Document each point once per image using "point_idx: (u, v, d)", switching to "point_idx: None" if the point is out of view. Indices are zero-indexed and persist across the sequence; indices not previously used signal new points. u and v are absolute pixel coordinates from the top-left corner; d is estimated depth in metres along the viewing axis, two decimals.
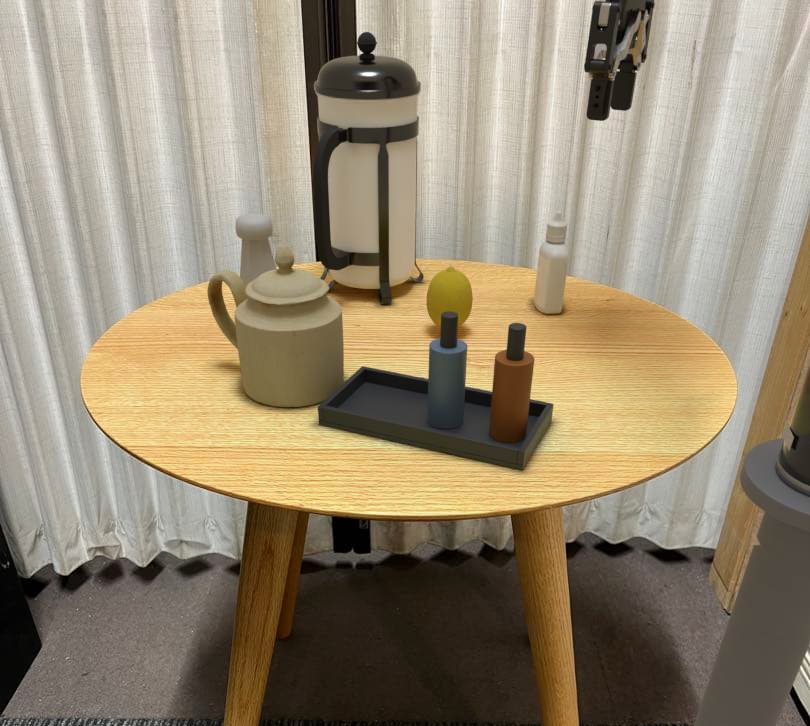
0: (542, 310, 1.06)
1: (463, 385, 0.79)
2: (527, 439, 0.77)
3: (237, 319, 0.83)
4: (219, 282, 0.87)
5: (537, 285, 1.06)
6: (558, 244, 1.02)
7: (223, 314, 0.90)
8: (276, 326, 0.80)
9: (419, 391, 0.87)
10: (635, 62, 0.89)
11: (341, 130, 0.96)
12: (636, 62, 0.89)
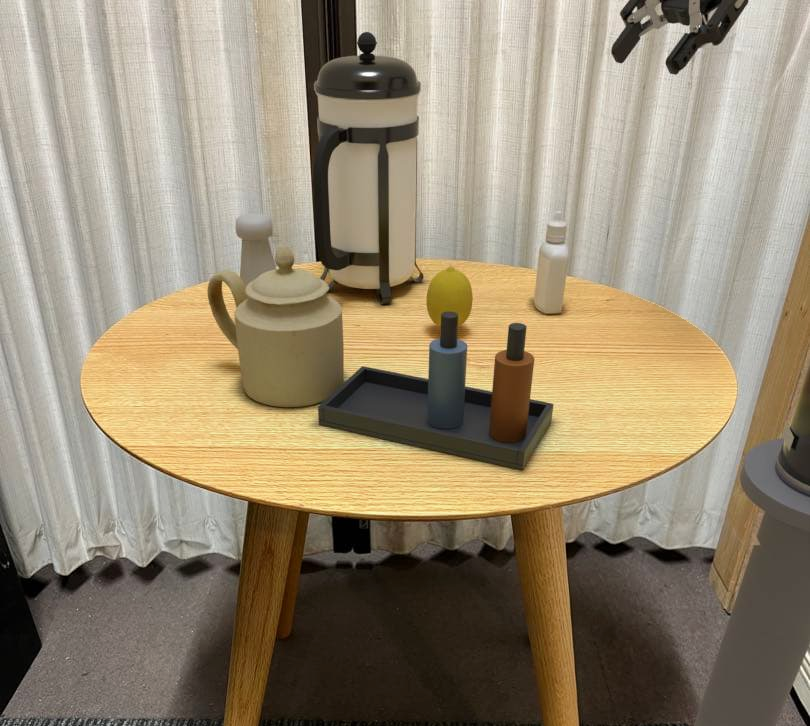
0: (542, 310, 1.06)
1: (463, 385, 0.79)
2: (527, 439, 0.77)
3: (237, 319, 0.83)
4: (219, 282, 0.87)
5: (537, 285, 1.06)
6: (558, 244, 1.02)
7: (223, 314, 0.90)
8: (276, 326, 0.80)
9: (419, 391, 0.87)
10: None
11: (341, 130, 0.96)
12: (689, 24, 0.92)
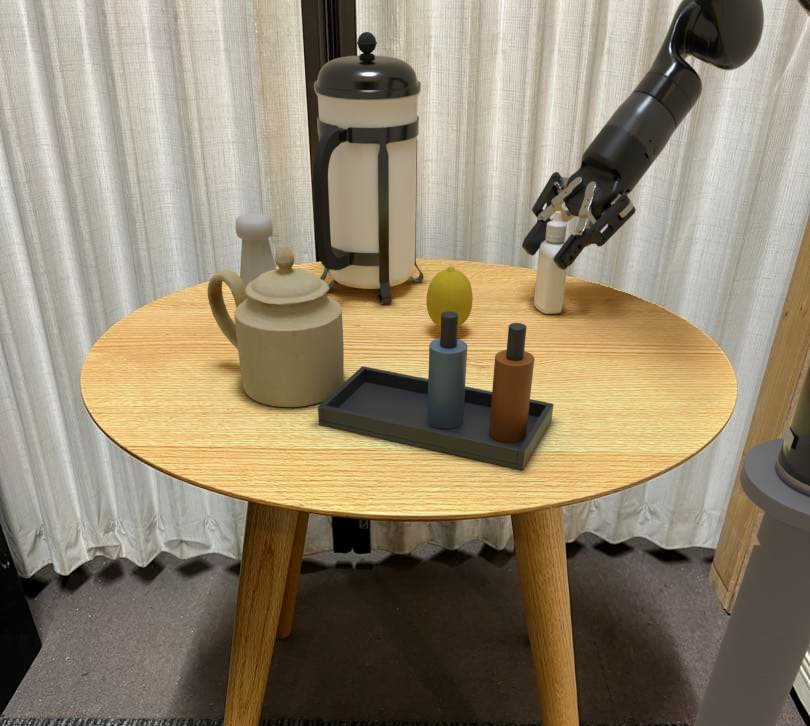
0: (542, 310, 1.06)
1: (463, 385, 0.79)
2: (527, 439, 0.77)
3: (237, 319, 0.83)
4: (219, 282, 0.87)
5: (537, 285, 1.06)
6: (558, 244, 1.02)
7: (223, 314, 0.90)
8: (276, 326, 0.80)
9: (419, 391, 0.87)
10: None
11: (341, 130, 0.96)
12: (577, 225, 1.00)
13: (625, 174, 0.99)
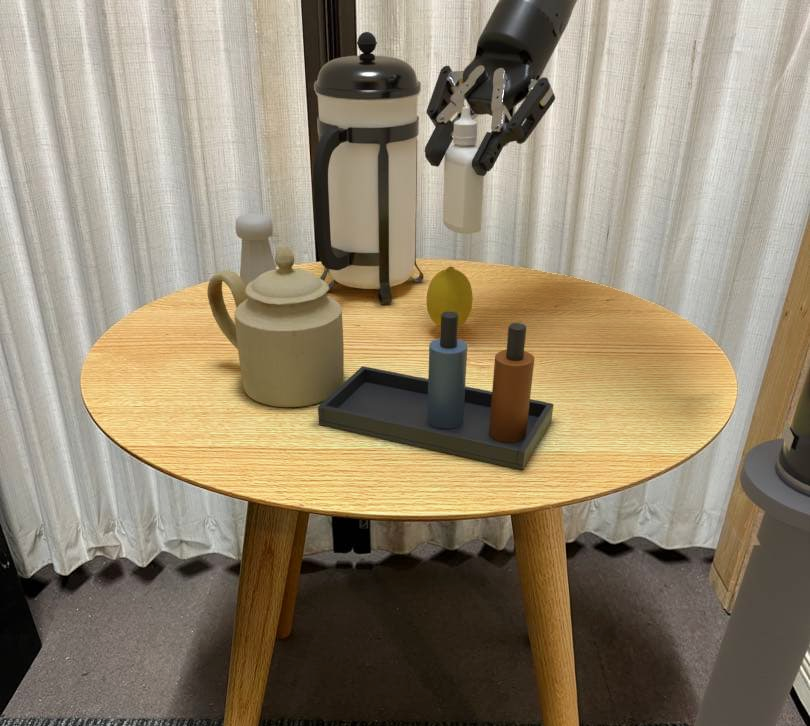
0: (460, 230, 0.90)
1: (463, 385, 0.79)
2: (527, 439, 0.77)
3: (237, 319, 0.83)
4: (219, 282, 0.87)
5: (449, 201, 0.89)
6: (470, 146, 0.86)
7: (223, 314, 0.90)
8: (276, 326, 0.80)
9: (419, 391, 0.87)
10: None
11: (341, 130, 0.96)
12: (492, 121, 0.84)
13: (536, 56, 0.84)
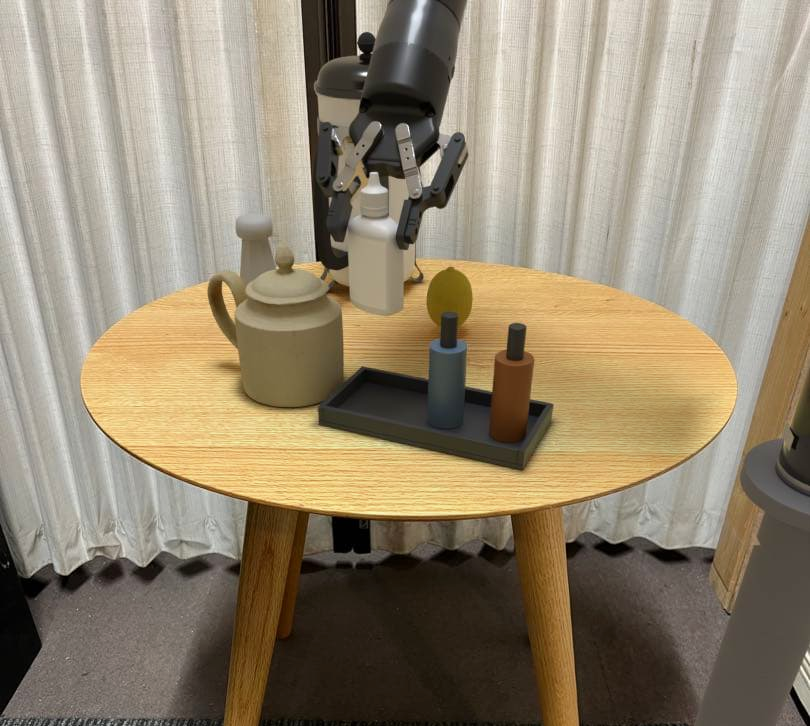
0: (382, 312, 0.76)
1: (463, 385, 0.79)
2: (527, 439, 0.77)
3: (237, 319, 0.83)
4: (219, 282, 0.87)
5: (363, 281, 0.76)
6: (384, 217, 0.73)
7: (223, 314, 0.90)
8: (276, 326, 0.80)
9: (419, 391, 0.87)
10: (407, 187, 0.72)
11: None
12: (407, 186, 0.72)
13: (438, 107, 0.73)
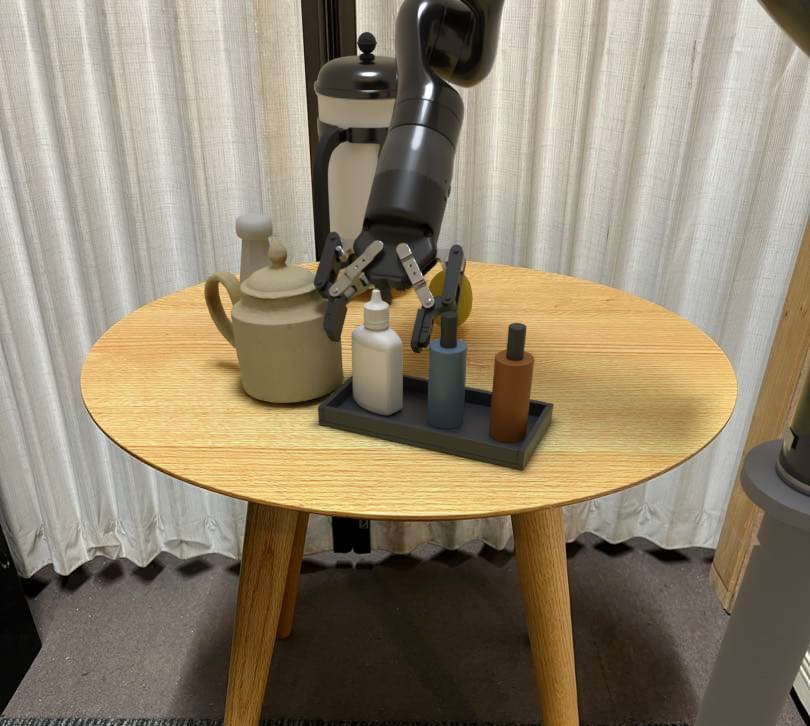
0: (383, 412, 0.83)
1: (463, 385, 0.79)
2: (527, 439, 0.77)
3: (233, 316, 0.83)
4: (215, 283, 0.88)
5: (365, 384, 0.82)
6: (385, 329, 0.79)
7: (221, 315, 0.90)
8: (271, 320, 0.80)
9: (419, 391, 0.87)
10: (419, 298, 0.78)
11: (341, 130, 0.96)
12: (419, 298, 0.78)
13: (436, 227, 0.79)
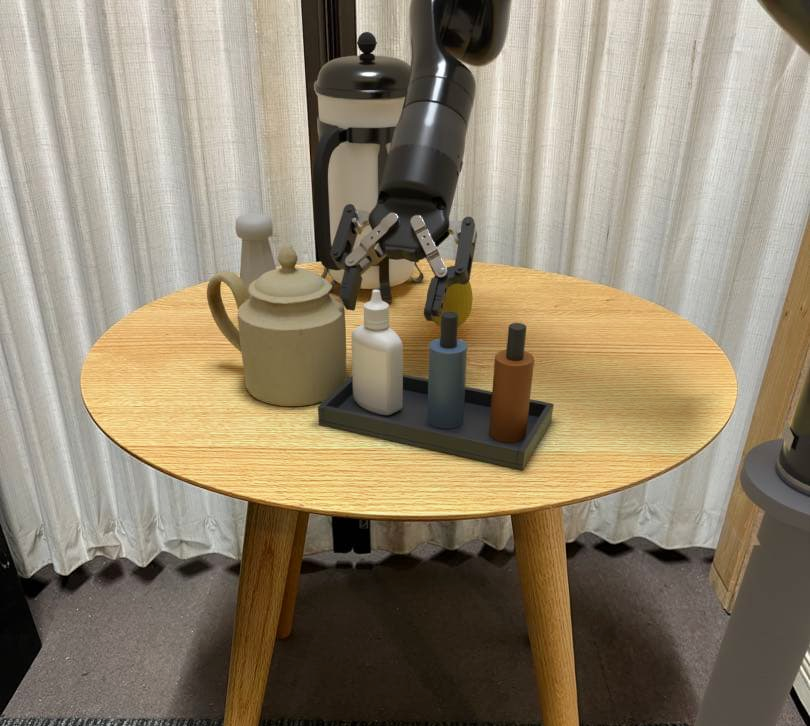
0: (383, 412, 0.83)
1: (463, 385, 0.79)
2: (527, 439, 0.77)
3: (241, 319, 0.82)
4: (218, 283, 0.87)
5: (365, 384, 0.82)
6: (385, 329, 0.79)
7: (223, 315, 0.89)
8: (282, 325, 0.81)
9: (419, 391, 0.87)
10: (432, 268, 0.81)
11: (341, 130, 0.96)
12: (432, 268, 0.81)
13: (448, 200, 0.82)
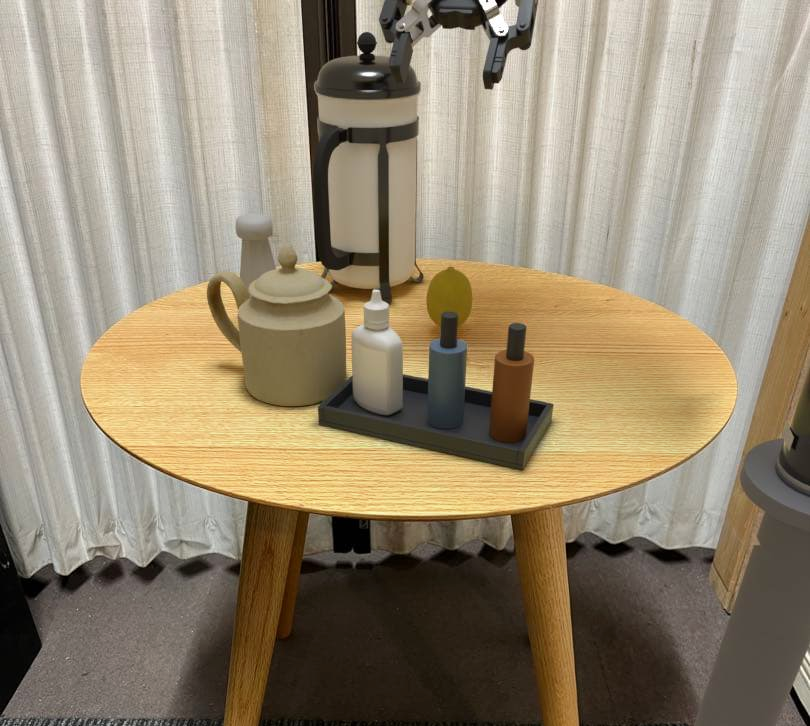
0: (383, 412, 0.83)
1: (463, 385, 0.79)
2: (527, 439, 0.77)
3: (241, 319, 0.82)
4: (218, 283, 0.87)
5: (365, 384, 0.82)
6: (385, 329, 0.79)
7: (223, 315, 0.89)
8: (282, 325, 0.81)
9: (419, 391, 0.87)
10: (492, 28, 0.75)
11: (341, 130, 0.96)
12: (491, 27, 0.74)
13: None
